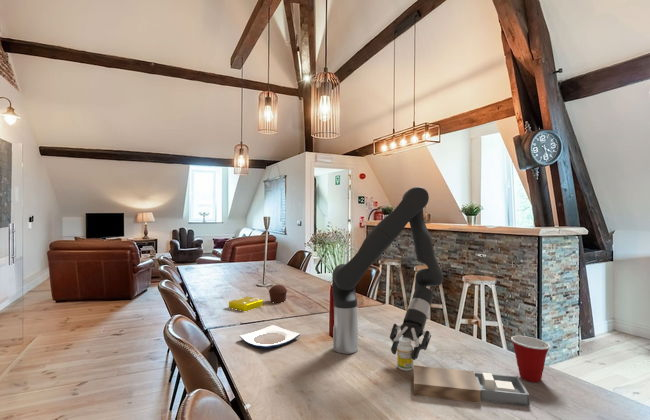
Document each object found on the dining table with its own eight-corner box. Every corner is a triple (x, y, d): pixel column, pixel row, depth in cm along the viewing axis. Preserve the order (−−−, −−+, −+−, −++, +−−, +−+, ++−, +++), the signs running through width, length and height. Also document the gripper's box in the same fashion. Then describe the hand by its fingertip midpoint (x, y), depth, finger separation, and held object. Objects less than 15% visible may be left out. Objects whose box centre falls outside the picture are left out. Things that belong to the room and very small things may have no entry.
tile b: (514, 389, 96) (515, 398, 96) (511, 381, 100) (511, 390, 100) (497, 387, 97) (497, 396, 97) (494, 380, 102) (494, 388, 102)
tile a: (484, 379, 98) (494, 380, 97) (482, 372, 102) (491, 373, 102) (485, 395, 98) (494, 396, 97) (482, 387, 102) (491, 388, 102)
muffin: (265, 301, 211) (264, 285, 212) (279, 298, 219) (279, 282, 219) (276, 305, 203) (276, 288, 203) (291, 301, 210) (290, 285, 210)
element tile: (246, 303, 210) (246, 295, 210) (264, 306, 201) (264, 298, 201) (227, 309, 198) (227, 300, 198) (245, 313, 189) (245, 304, 189)
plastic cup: (560, 385, 104) (559, 346, 104) (526, 387, 103) (525, 347, 103) (535, 369, 115) (534, 333, 115) (504, 371, 114) (503, 335, 114)
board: (414, 395, 100) (413, 383, 100) (414, 376, 111) (414, 365, 111) (480, 403, 95) (480, 390, 95) (473, 382, 107) (473, 371, 107)
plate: (303, 339, 147) (303, 333, 147) (265, 354, 132) (265, 347, 132) (273, 329, 161) (273, 323, 161) (236, 342, 146) (235, 335, 146)
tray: (481, 400, 96) (481, 389, 96) (474, 381, 107) (474, 372, 107) (529, 405, 93) (529, 394, 93) (518, 386, 104) (517, 376, 104)
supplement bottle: (409, 372, 114) (408, 343, 114) (394, 368, 118) (394, 340, 118) (416, 366, 118) (415, 339, 118) (402, 362, 122) (401, 335, 122)
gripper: (396, 304, 128) (380, 345, 119) (433, 311, 119) (419, 356, 110) (402, 315, 132) (388, 356, 123) (439, 322, 123) (426, 366, 114)
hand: (403, 356), depth 117 cm, fingers open, 7 cm apart
